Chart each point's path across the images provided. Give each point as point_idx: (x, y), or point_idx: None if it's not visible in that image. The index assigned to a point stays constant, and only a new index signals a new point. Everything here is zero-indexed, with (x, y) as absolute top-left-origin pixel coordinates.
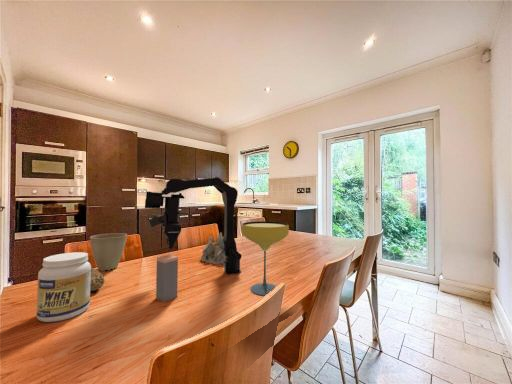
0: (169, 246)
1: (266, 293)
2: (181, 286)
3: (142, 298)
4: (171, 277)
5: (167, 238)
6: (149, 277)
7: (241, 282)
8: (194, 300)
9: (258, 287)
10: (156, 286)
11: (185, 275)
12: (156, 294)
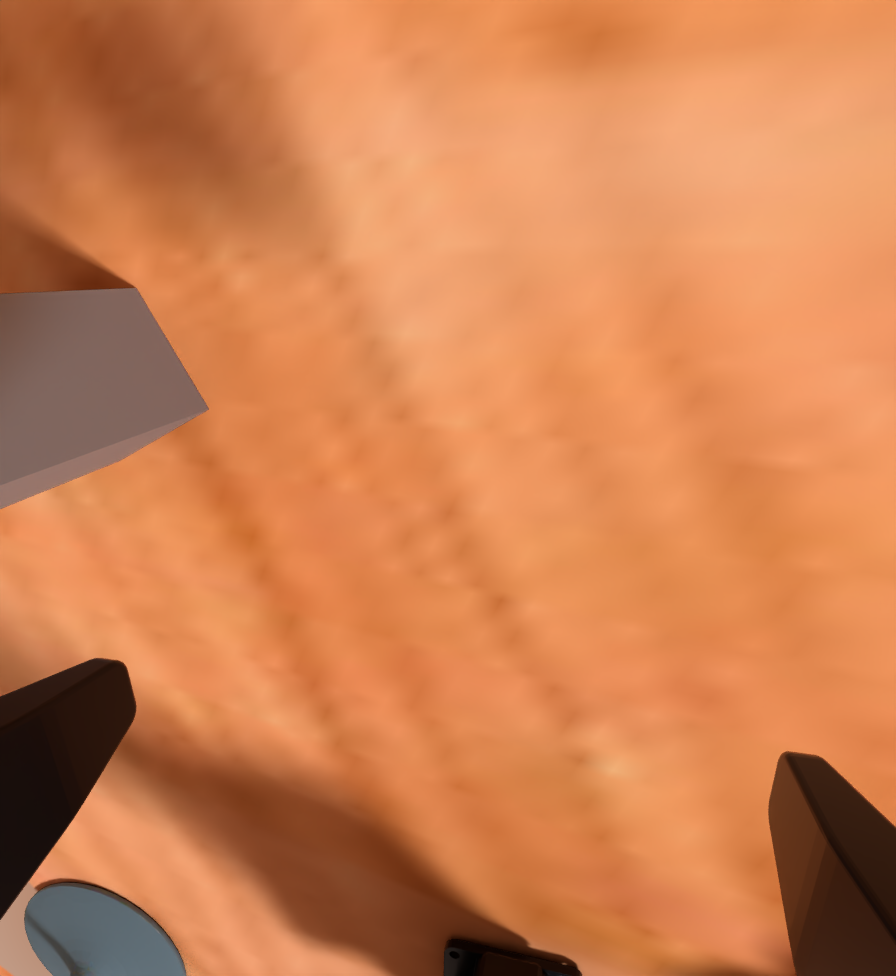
0: (35, 695)
1: (31, 924)
2: (320, 533)
3: (154, 156)
4: None
5: (883, 957)
6: (802, 207)
7: (248, 918)
8: (39, 560)
9: (92, 939)
10: (44, 293)
11: (618, 635)
12: (106, 292)
